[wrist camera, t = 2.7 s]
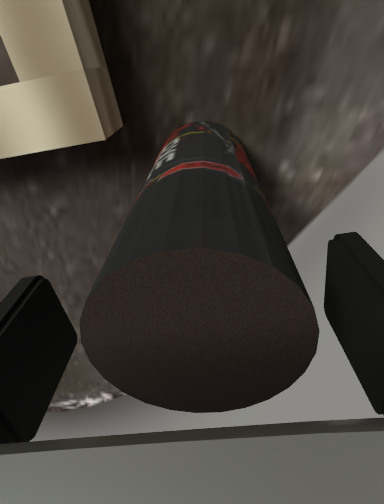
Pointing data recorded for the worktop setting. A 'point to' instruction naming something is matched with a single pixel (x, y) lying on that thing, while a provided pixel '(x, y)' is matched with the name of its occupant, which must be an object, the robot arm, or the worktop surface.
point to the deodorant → (200, 286)
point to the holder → (54, 78)
